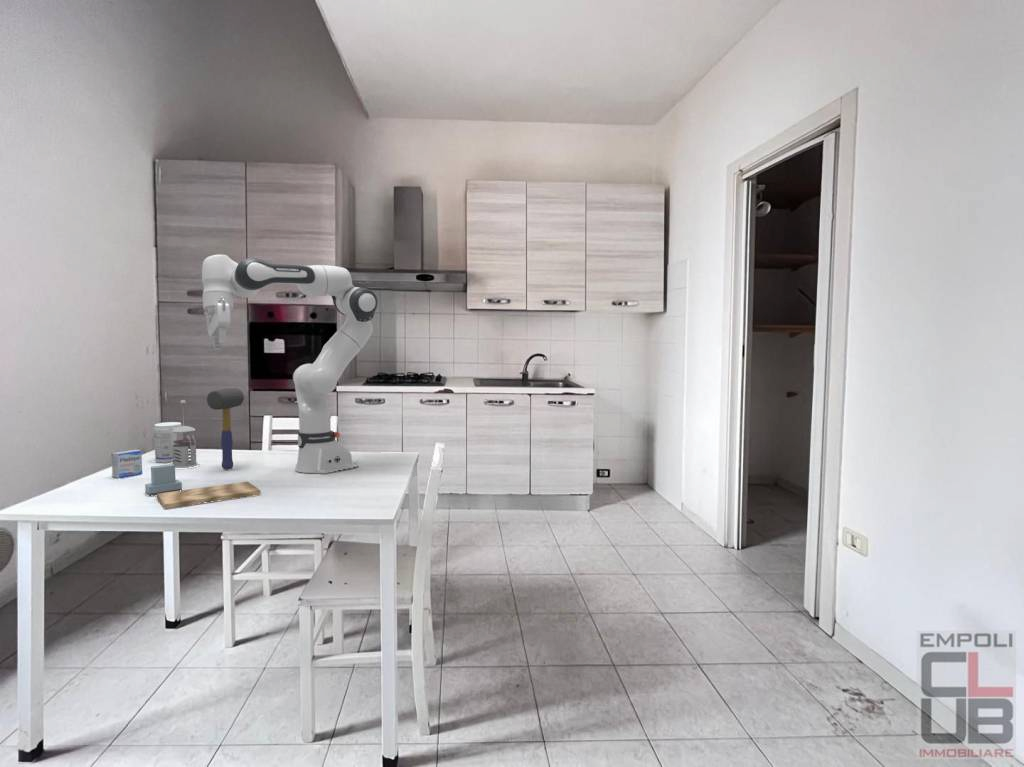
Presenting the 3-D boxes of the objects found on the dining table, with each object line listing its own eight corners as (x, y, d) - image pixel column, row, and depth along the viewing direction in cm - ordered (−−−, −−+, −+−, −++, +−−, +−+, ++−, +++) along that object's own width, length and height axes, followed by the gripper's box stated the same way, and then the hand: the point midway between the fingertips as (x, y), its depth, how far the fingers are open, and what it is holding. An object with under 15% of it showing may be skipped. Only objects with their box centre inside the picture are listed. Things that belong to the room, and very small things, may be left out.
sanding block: (177, 488, 192) (176, 462, 192) (182, 491, 189) (181, 465, 188) (145, 493, 186) (144, 466, 186) (149, 496, 183) (148, 469, 182)
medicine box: (118, 479, 204) (117, 453, 203) (112, 477, 206) (111, 452, 206) (142, 474, 211) (141, 450, 210) (136, 472, 213) (135, 448, 212)
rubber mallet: (225, 474, 213) (223, 390, 210) (206, 472, 214) (204, 389, 212) (247, 466, 225) (245, 387, 223) (229, 465, 226) (227, 386, 224)
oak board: (247, 485, 197) (247, 481, 196) (260, 494, 186) (260, 490, 186) (156, 498, 180) (156, 493, 180) (165, 509, 169) (165, 504, 169)
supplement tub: (175, 457, 240) (173, 421, 239) (188, 460, 235) (187, 423, 234) (150, 461, 232) (148, 424, 230) (163, 464, 227) (162, 426, 225)
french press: (191, 462, 231) (189, 398, 229) (207, 466, 224) (205, 400, 222) (164, 466, 223) (162, 400, 221) (180, 471, 216) (177, 402, 214)
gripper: (234, 296, 187) (236, 339, 186) (223, 311, 204) (225, 351, 202) (212, 294, 184) (214, 338, 182) (202, 310, 200) (204, 351, 199)
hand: (220, 345), depth 192 cm, fingers open, 8 cm apart
